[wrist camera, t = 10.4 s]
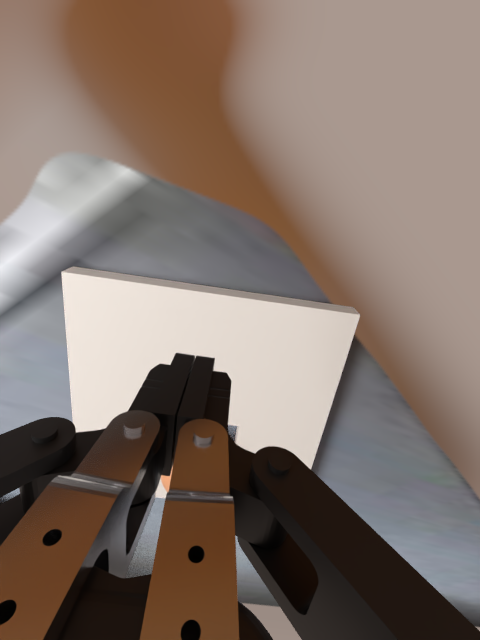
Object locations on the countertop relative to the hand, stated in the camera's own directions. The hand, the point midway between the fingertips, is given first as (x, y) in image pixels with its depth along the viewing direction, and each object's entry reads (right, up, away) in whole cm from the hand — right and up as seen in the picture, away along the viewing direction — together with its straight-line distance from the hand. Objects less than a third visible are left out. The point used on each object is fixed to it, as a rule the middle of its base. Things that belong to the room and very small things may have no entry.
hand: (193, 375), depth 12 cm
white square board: (-1, -5, +14) cm, 15 cm away
